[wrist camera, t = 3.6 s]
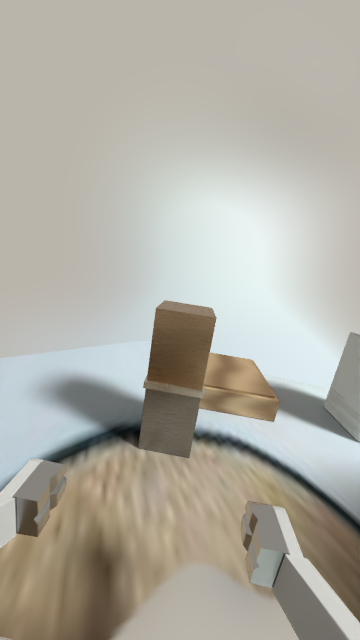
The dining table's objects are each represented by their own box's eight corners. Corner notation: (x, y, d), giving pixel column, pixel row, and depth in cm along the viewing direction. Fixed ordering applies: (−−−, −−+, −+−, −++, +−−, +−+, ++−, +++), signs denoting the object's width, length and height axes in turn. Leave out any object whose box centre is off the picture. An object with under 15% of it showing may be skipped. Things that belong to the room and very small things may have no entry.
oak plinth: (176, 403, 28) (180, 381, 27) (182, 363, 41) (185, 347, 40) (274, 421, 28) (280, 399, 27) (249, 375, 40) (253, 359, 39)
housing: (135, 449, 20) (153, 307, 17) (148, 413, 26) (163, 299, 22) (191, 460, 20) (219, 318, 17) (192, 421, 25) (213, 308, 22)
